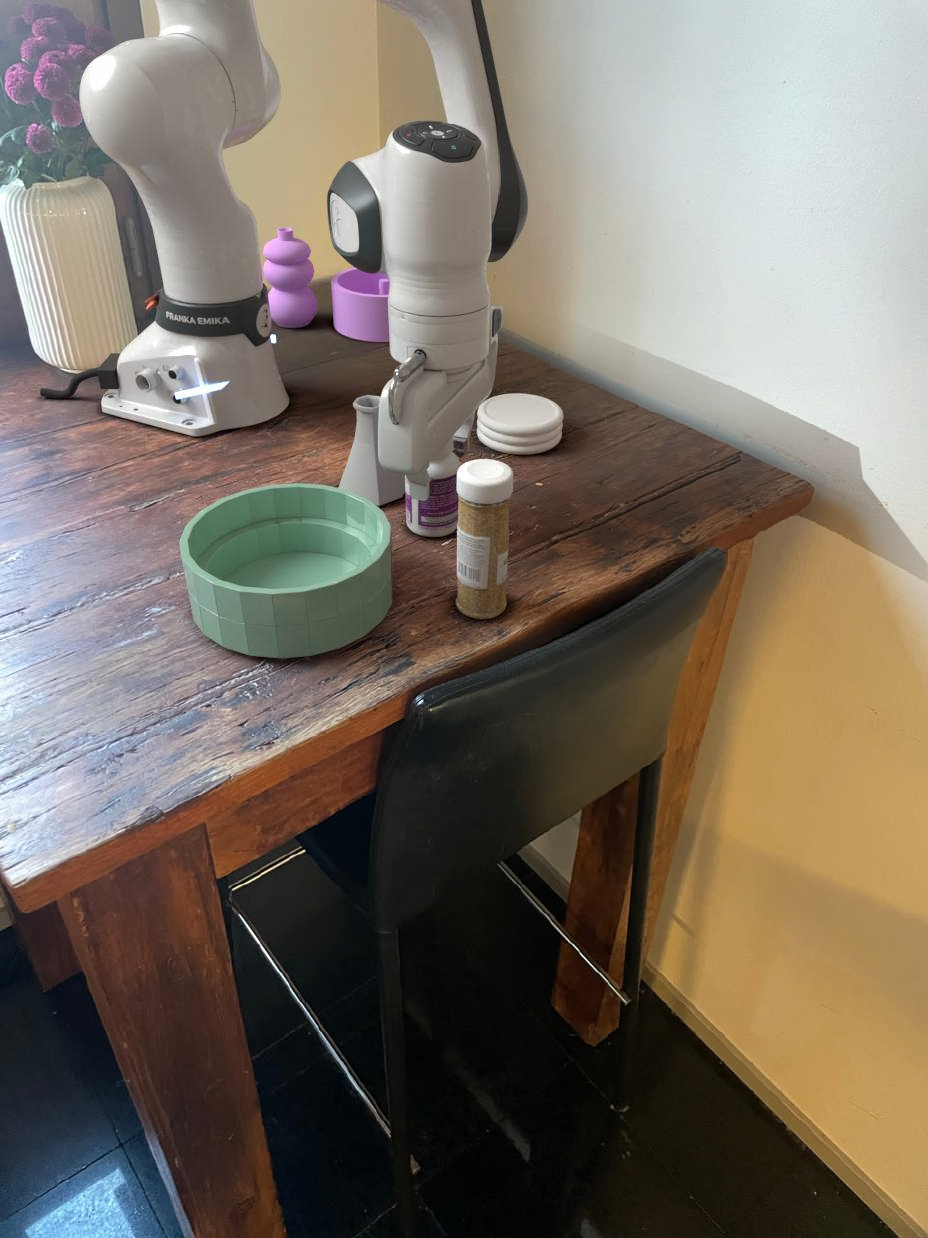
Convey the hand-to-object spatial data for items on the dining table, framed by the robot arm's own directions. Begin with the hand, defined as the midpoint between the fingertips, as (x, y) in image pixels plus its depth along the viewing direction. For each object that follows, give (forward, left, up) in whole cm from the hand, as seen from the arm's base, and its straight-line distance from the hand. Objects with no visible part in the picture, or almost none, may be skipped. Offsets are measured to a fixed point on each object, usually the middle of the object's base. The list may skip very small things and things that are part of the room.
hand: (440, 474), depth 90 cm
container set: (-29, +52, -6) cm, 59 cm away
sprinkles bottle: (+7, -12, -6) cm, 15 cm away
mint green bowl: (-9, -16, -6) cm, 19 cm away
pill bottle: (-1, 0, -6) cm, 6 cm away
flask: (-9, +5, -6) cm, 11 cm away
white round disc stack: (+3, +22, -6) cm, 23 cm away
